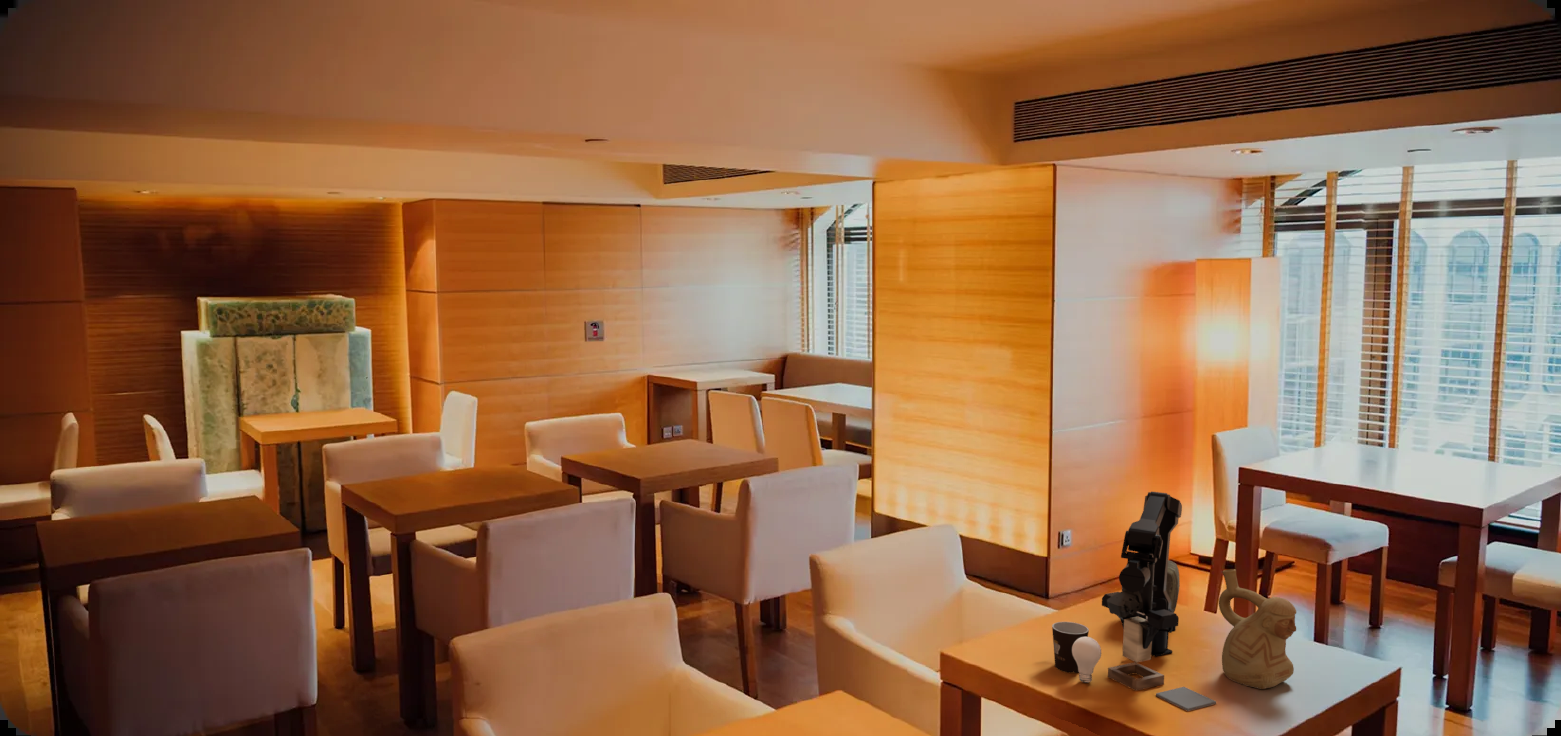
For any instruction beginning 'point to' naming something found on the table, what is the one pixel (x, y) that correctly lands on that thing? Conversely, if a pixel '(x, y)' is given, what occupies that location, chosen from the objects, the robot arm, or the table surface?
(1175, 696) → the felt pad
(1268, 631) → the ceramic vessel
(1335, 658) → the table surface
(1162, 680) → the frame
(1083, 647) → the light bulb
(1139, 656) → the maple block
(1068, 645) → the coffee mug
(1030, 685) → the table surface
